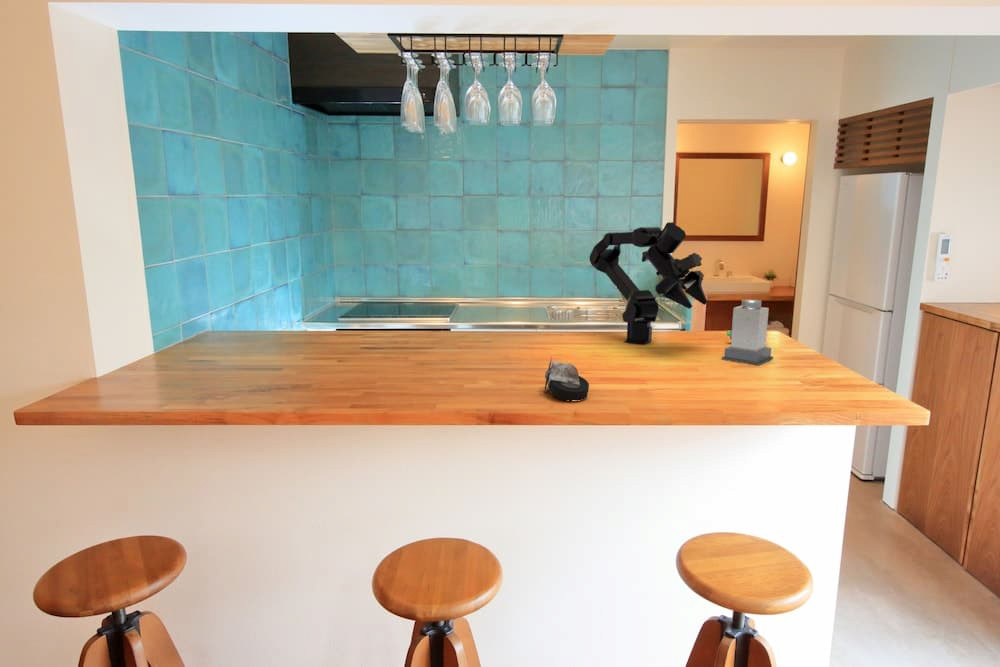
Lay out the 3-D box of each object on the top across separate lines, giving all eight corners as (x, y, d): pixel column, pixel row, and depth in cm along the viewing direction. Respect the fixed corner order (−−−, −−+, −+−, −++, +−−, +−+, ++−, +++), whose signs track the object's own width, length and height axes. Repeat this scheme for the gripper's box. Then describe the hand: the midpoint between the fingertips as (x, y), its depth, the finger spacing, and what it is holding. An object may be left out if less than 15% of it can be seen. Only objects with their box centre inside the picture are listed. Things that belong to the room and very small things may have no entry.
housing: (730, 348, 173) (734, 300, 170) (739, 344, 177) (743, 297, 175) (756, 352, 168) (760, 303, 166) (765, 348, 173) (769, 300, 170)
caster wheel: (584, 413, 137) (538, 404, 139) (588, 388, 147) (545, 380, 149) (589, 386, 134) (542, 377, 136) (593, 362, 144) (549, 354, 146)
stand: (721, 359, 173) (722, 348, 172) (736, 353, 180) (737, 342, 180) (758, 365, 166) (759, 354, 166) (773, 358, 174) (773, 347, 173)
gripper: (667, 245, 170) (704, 290, 165) (699, 242, 184) (734, 283, 179) (640, 272, 177) (674, 316, 172) (672, 267, 191) (705, 308, 186)
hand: (698, 305), depth 177 cm, fingers open, 9 cm apart
